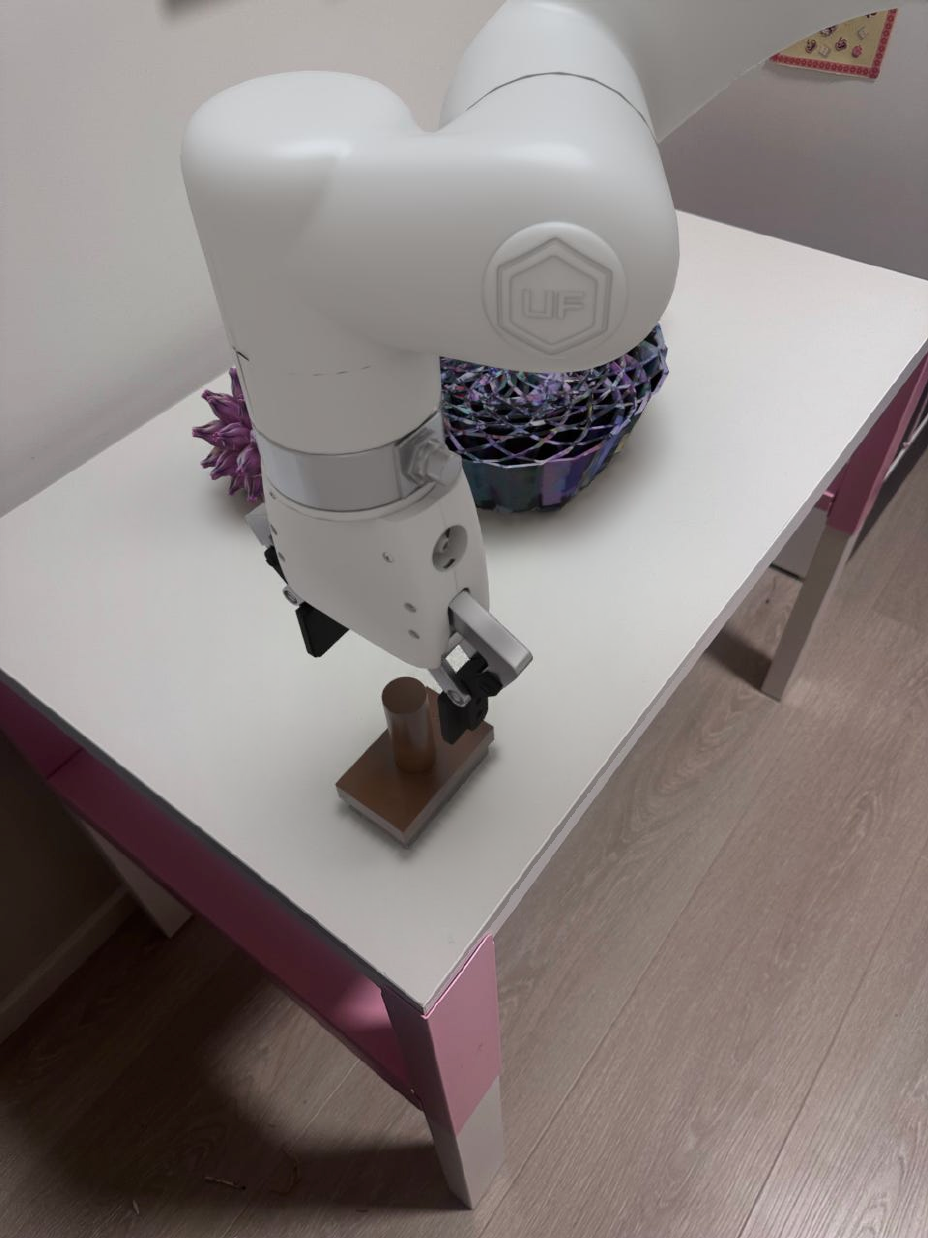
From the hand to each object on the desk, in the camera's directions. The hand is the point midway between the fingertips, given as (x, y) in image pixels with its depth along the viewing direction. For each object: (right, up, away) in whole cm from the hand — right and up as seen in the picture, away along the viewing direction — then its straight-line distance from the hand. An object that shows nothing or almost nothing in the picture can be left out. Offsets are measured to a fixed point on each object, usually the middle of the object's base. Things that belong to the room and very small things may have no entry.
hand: (395, 680), depth 49 cm
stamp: (+1, -7, +8) cm, 11 cm away
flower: (-12, +15, +28) cm, 34 cm away
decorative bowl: (+8, +20, +31) cm, 37 cm away
